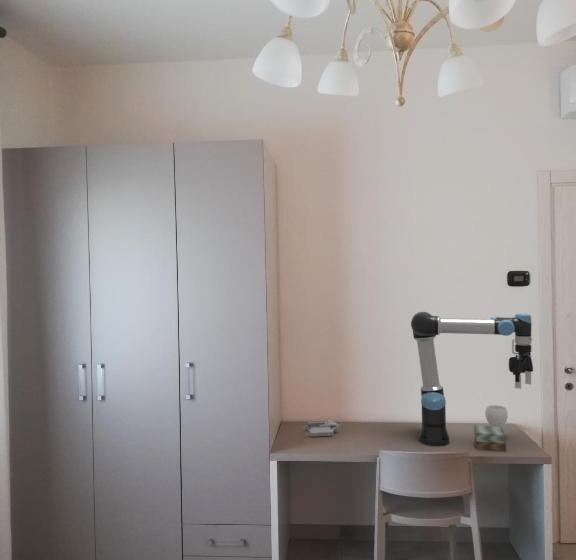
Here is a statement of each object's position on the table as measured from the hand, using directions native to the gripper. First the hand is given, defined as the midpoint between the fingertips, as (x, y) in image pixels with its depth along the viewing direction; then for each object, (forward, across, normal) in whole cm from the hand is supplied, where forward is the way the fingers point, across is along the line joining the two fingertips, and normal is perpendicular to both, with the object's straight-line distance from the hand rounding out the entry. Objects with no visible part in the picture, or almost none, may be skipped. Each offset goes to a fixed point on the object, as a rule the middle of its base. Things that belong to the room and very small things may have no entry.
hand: (523, 386), depth 256 cm
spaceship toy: (+29, -59, +83) cm, 106 cm away
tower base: (+27, -22, +8) cm, 36 cm away
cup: (+27, -5, +11) cm, 30 cm away
